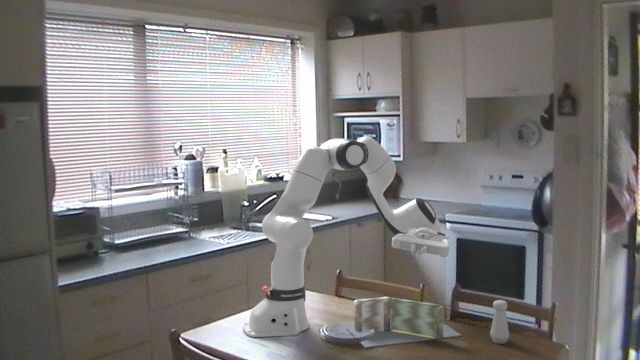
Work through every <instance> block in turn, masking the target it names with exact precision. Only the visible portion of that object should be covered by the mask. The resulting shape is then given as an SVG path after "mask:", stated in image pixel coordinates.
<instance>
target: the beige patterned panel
mask: <svg viewBox="0 0 640 360" xmlns="http://www.w3.org/2000/svg"><path fill="white" fill-rule="evenodd" d="M353 303H354V304H353V308H354V327H355V331H356V332H361V331H363V330H372V329H374V331H375V332H379V331H390V330H391V296H381V297H370V298H361V299H355V300H354V302H353Z"/></svg>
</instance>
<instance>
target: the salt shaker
mask: <svg viewBox="0 0 640 360" xmlns="http://www.w3.org/2000/svg"><path fill="white" fill-rule="evenodd" d="M492 307H493V309H494V312H493V313H494V315H493V319H492V323H491V327H490V332H489V334H490V338H491V339H492V342H493V343H495V344H502V345H504V344H505V343H507V342H508V340H509V338H510V331H509V330H510V329H509V324H508V318H507V311H506V310H507V309H508V302H507V301H505V300H502V299H497V300H494V301H493V303H492Z"/></svg>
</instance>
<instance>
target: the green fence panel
mask: <svg viewBox="0 0 640 360" xmlns="http://www.w3.org/2000/svg"><path fill="white" fill-rule="evenodd" d="M390 308H391V330H396V331H402V332H407V333H413V334H419V335H424V336H430V337H436V338H438V339H437V340H439V339H440V340H441V339H444V338H443V323H444V317H445V316H444V314H445V313H444V306H443V305H440V304H439V303H438V304H437V303H432V302H426V301H425V302H424V301H417V300H409V299H404V298H395V297H390ZM444 324H445V323H444Z"/></svg>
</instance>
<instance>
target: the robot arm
mask: <svg viewBox="0 0 640 360" xmlns="http://www.w3.org/2000/svg"><path fill="white" fill-rule="evenodd" d="M396 166H397V165H396V163H395V161H394V159H393V158H392V157H391V155H390V154H389V153H388V152H387V150H386V149H385V148H384V147H383V146H382V145H381V144H380V143H379V142H378V141H377V140H375V138H374V137H372V136H369V135H367V136H366V135H365V136H361V137H360V138H358V139H351V138H345V137H344V138H343V137H335V138H333V137H332V138H327V139H325V140H324V141H323V142H321V143H320V144H319V145H310V146H307V147H306V148H305V149H304V150H303V151H302V153H301V154H300V157H299V158H298V160H297V162H296V163H295V166H294V168H293V171H292V173H291V175H290V178H289V180H288V183H287V184H286V187H285V189H284V191H283V193H282V194H281V197H280V198H279V199H278V201H277V203H276V204H275V205H274V206H273V208H272V210H271V211H270V212H269V213H268V214H266V215H265V216H264V217H263V219H262V221H261V231H262V233H263V235H264V236H265V237H266V238H267V240H269V241H270V242H272V243H275V245H276V250H275V253H274V259H273V260H272V262H271V264H270V283H271V284H270V286H269V287H268V286H266V285H264V286H263V287H262V289H261V290H262V291H263V293H265V298H263V299H262V300H261V301H260V302H258V304H257V305H255V306H254V307H253V308H252V309H251V311H250V314H249V320H248V321H245V322H244V323H243V325H242V329H243V332H244V334H246V336H249V337H251V338H264V337H285V336H288V337H289V336H297V335H299V334H301V332H303V331H305V330H307V329H309V328H310V323H309V320H308V319H309V318H308V315H307V310H306V304H305V302H306V297H307V296H306V286H305V284H304V281H305V279H304V276H305V275H304V271H305V269H304V266H305V258H306V253H307V249H308V247H309V245H311V243H312V241H313V237H314V230H313V227H312V225H311V224H310V223H309V222H308V221H307V220H306V219H304V218H303V217H304V216H305V215H306V213H307V212H308V210H309V209H310V208H312V207H313V206H314V205H315V203H316V201H317V199H318V197H319V194H320V192H321V189H322V187H323V185H324V182H325V179H326V177H327V174H328V173H329V172H330V170H331V169H335V170H336V171H354V170H357V169H360V170H361V171H362V172H363V173H364V174H365V176H366V178H367V182H366V184H365V185H366V191H367V194H368V196H369V198H370V199H371V201H372V203H373V205H374V206H375V208H376V210H377V212H378V214H379V215H380V218H381V219H382V221H383V223H384V225H385V227H386V228H385V229H386V230H387V232H388V233H389V235H391V236H393V237H392V239H391V247H392V248H394V249H397V250H398V249H399V250H403V251H404V250H405V251H411V254H413V255H419V256H422V255H424V254H427V255H434V256H440V257H449V255H450V245H451V241H450V237H449V235H448V234H446V233H443V232H442V224H441V222H440V221H439V219H437V215H436V212H435V209H434V208H433V206H432V205H431V204H430V202H429V201H427V200H426V199H423V198H421V197H420V198H419V197H416V198H414V199H413V200H411V201H409V202H406V204H403V205H401V206H399V207H398V208H396V209H391V207H390V205H389V203H388V202H387V199H386V198H385V196H384V192H385V191H386V190H387V188H389V186H390V185H391V183H392V182H393V180H394V178H395V176H396V173H397V172H396V171H397V167H396ZM412 230H414V232H413V234H408V233H409V232H411V231H412Z"/></svg>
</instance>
